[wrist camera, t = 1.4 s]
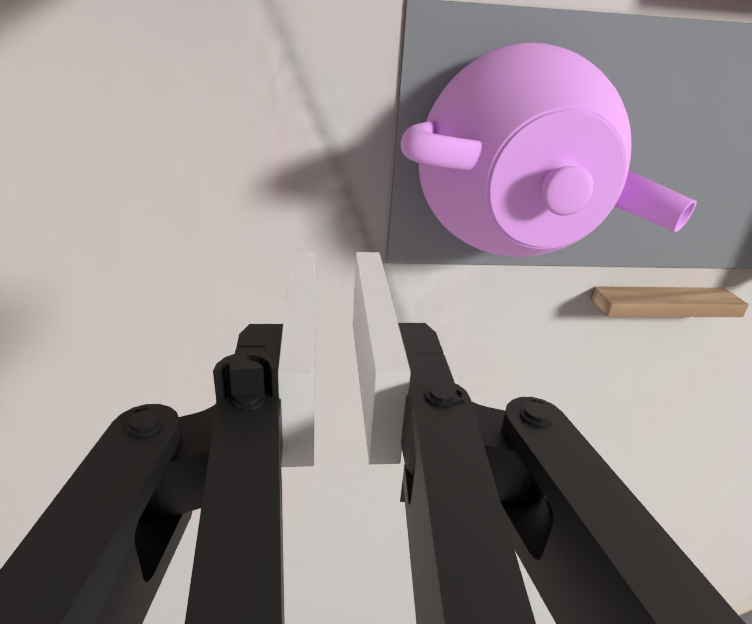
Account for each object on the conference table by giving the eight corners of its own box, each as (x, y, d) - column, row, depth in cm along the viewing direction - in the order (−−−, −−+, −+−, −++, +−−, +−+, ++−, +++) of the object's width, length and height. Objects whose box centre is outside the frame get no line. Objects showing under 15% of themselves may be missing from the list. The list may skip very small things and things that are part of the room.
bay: (691, -40, 34) (728, -45, 30) (912, -21, 35) (968, -24, 32) (591, 299, 45) (610, 319, 42) (760, 300, 47) (790, 320, 44)
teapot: (596, 263, 44) (670, 331, 34) (361, 209, 39) (375, 270, 30) (684, 89, 37) (805, 115, 28) (417, 2, 33) (456, -1, 24)
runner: (407, -2, 33) (407, -2, 33) (886, 33, 37) (889, 33, 37) (386, 261, 42) (387, 262, 42) (775, 267, 46) (777, 268, 46)
